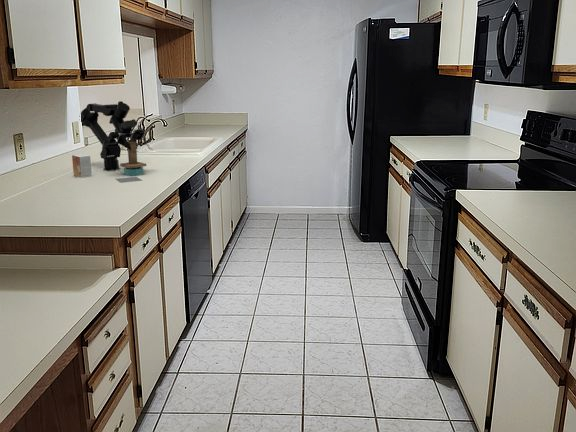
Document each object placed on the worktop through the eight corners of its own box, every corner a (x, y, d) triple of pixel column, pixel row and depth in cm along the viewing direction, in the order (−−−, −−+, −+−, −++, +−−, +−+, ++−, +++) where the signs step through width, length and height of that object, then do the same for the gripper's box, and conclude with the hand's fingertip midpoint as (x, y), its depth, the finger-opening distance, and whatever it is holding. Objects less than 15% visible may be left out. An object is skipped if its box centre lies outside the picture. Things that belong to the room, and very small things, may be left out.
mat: (115, 179, 265) (114, 178, 265) (136, 177, 270) (136, 176, 270) (120, 183, 256) (120, 182, 256) (142, 181, 261) (142, 180, 261)
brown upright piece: (120, 166, 275) (118, 142, 272) (136, 163, 282) (134, 140, 278) (130, 168, 269) (128, 144, 266) (146, 166, 276) (144, 142, 272)
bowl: (121, 174, 276) (120, 167, 275) (136, 172, 283) (136, 165, 282) (131, 177, 270) (130, 170, 269) (146, 174, 277) (146, 167, 276)
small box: (73, 176, 273) (71, 155, 270) (84, 174, 277) (82, 153, 274) (81, 178, 267) (79, 156, 265) (92, 176, 271) (90, 155, 269)
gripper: (108, 115, 264) (122, 140, 260) (141, 113, 278) (155, 137, 274) (101, 130, 271) (114, 155, 267) (133, 127, 285) (147, 150, 281)
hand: (133, 149), depth 272 cm, fingers closed on brown upright piece, 3 cm apart
